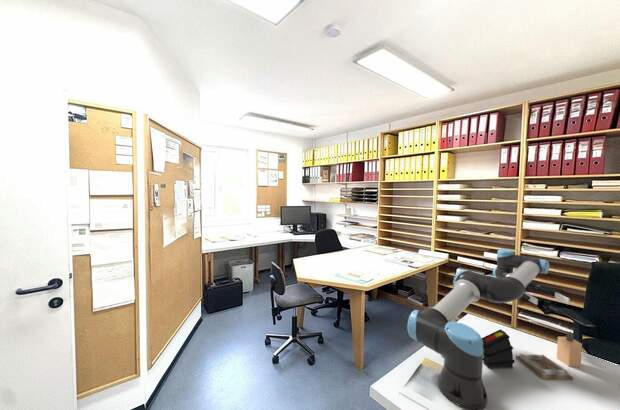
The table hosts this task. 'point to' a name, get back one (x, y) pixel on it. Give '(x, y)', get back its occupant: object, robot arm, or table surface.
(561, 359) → the orange bottle
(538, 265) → the robot arm
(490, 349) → the magazine
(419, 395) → the table surface
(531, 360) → the tray
